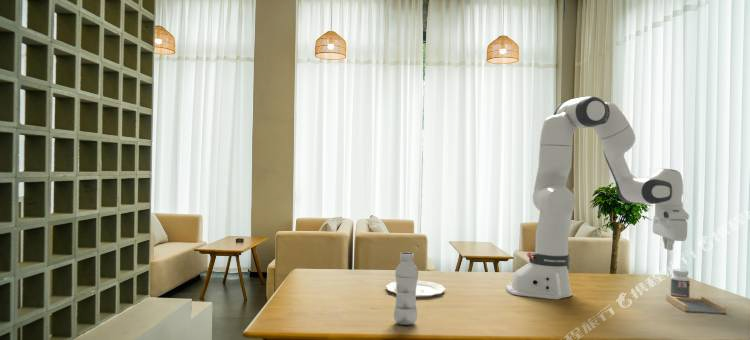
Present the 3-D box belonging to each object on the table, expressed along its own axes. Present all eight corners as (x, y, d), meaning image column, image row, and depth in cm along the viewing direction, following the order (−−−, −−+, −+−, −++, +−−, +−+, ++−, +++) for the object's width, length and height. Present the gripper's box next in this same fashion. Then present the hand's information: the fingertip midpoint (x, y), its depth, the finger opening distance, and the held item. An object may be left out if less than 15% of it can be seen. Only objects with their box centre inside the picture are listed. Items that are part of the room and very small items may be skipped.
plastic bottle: (392, 320, 138) (393, 251, 137) (415, 320, 138) (416, 251, 138) (395, 327, 131) (396, 255, 131) (419, 327, 132) (420, 255, 132)
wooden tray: (684, 311, 151) (684, 305, 151) (665, 299, 165) (665, 294, 165) (725, 314, 149) (726, 308, 149) (703, 302, 163) (703, 296, 163)
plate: (374, 289, 172) (374, 284, 172) (417, 281, 185) (417, 277, 185) (412, 303, 156) (412, 298, 156) (457, 294, 168) (457, 289, 168)
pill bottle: (692, 301, 164) (693, 272, 164) (674, 299, 165) (674, 271, 165) (685, 296, 169) (685, 268, 169) (667, 295, 171) (668, 267, 170)
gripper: (648, 209, 188) (647, 244, 188) (671, 215, 168) (671, 254, 168) (665, 209, 187) (665, 245, 187) (691, 215, 167) (690, 254, 167)
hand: (668, 249), depth 177 cm, fingers closed
